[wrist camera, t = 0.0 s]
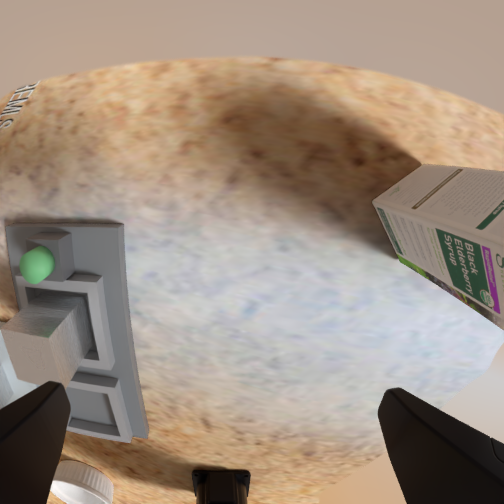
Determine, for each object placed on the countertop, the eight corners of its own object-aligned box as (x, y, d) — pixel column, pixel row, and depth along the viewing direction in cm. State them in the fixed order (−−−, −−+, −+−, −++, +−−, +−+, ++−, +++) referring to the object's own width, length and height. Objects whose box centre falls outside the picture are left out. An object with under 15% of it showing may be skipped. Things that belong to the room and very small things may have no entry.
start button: (56, 276, 17) (45, 285, 16) (34, 274, 17) (22, 282, 16) (53, 246, 17) (41, 253, 15) (30, 245, 17) (17, 252, 15)
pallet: (149, 429, 26) (144, 453, 23) (60, 414, 25) (50, 434, 22) (123, 224, 20) (107, 235, 17) (13, 223, 19) (-10, 232, 16)
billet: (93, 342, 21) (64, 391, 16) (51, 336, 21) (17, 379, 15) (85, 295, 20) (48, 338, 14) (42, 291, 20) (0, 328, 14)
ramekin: (125, 496, 30) (121, 520, 26) (71, 485, 29) (64, 506, 25) (105, 463, 28) (97, 489, 23) (46, 450, 27) (35, 473, 23)
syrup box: (368, 200, 21) (531, 265, 7) (424, 160, 21) (587, 185, 7) (398, 262, 23) (533, 361, 9) (449, 221, 22) (590, 282, 8)
